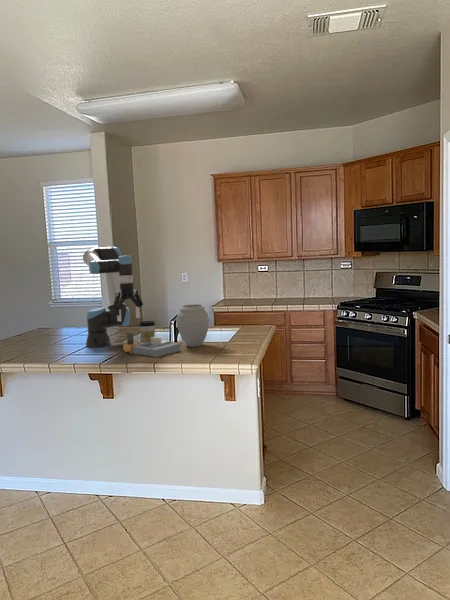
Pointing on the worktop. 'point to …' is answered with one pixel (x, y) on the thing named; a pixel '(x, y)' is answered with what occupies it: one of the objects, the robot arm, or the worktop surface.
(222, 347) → the worktop surface
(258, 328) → the worktop surface
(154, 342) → the shutter
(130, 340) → the plug
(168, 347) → the socket plate
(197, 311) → the vase
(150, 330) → the coffee cup
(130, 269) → the robot arm
